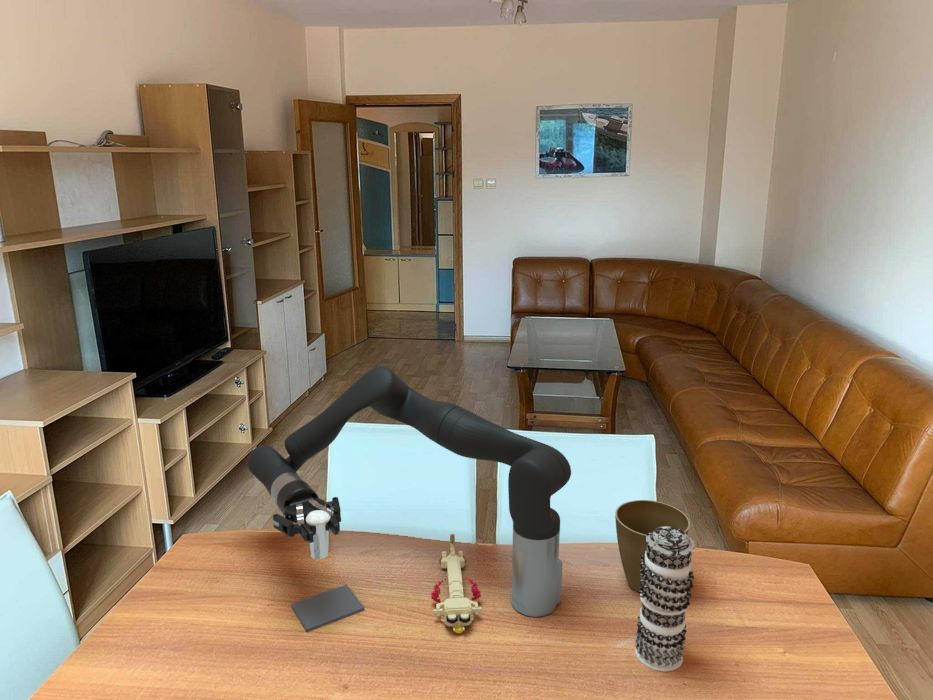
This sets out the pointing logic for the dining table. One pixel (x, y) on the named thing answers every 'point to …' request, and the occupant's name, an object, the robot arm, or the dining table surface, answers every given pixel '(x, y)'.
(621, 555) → the plant pot
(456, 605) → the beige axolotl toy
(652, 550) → the decorative candle
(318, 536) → the milkshake
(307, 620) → the charcoal mat
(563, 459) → the robot arm
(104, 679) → the dining table surface
